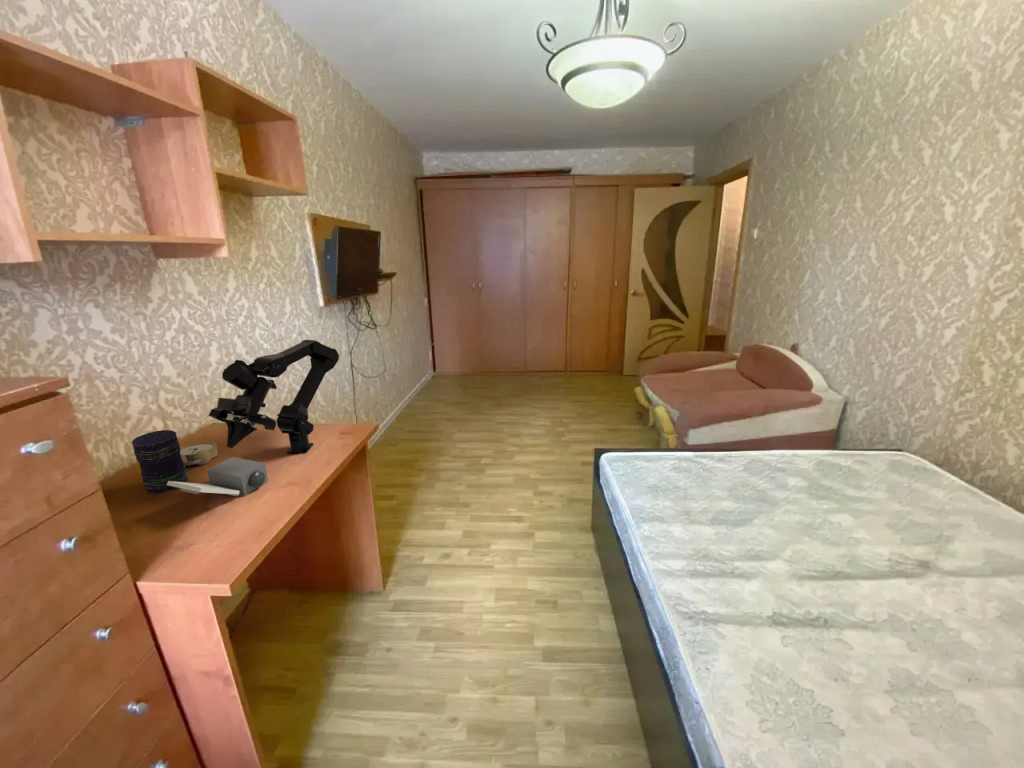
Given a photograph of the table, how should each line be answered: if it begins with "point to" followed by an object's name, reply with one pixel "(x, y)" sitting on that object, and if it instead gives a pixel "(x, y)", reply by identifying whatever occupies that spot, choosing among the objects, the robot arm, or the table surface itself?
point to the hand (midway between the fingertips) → (229, 447)
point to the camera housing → (238, 475)
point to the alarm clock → (198, 453)
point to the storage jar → (159, 460)
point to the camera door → (202, 488)
